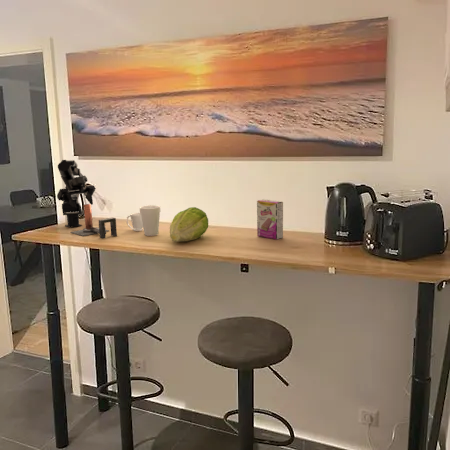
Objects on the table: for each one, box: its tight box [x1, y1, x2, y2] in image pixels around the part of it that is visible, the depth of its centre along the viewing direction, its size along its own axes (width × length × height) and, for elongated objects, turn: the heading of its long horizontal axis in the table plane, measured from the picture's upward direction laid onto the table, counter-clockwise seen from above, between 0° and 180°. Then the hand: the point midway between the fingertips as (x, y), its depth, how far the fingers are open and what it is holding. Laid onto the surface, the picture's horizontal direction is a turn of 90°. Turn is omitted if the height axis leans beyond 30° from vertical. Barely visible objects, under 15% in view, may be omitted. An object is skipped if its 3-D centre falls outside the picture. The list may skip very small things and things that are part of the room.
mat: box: [70, 227, 110, 237], centre depth 236 cm, size 12×14×1 cm
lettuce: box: [169, 206, 209, 242], centre depth 213 cm, size 14×24×15 cm
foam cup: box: [139, 204, 161, 237], centre depth 226 cm, size 10×9×13 cm
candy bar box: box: [256, 198, 284, 241], centre depth 214 cm, size 11×5×16 cm, turn 47°
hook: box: [82, 203, 107, 235], centre depth 231 cm, size 17×6×13 cm, turn 45°
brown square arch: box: [97, 217, 118, 239], centre depth 223 cm, size 2×8×8 cm, turn 135°
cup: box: [126, 212, 144, 232], centre depth 237 cm, size 7×10×8 cm
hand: (84, 205), depth 236 cm, fingers open, 9 cm apart
